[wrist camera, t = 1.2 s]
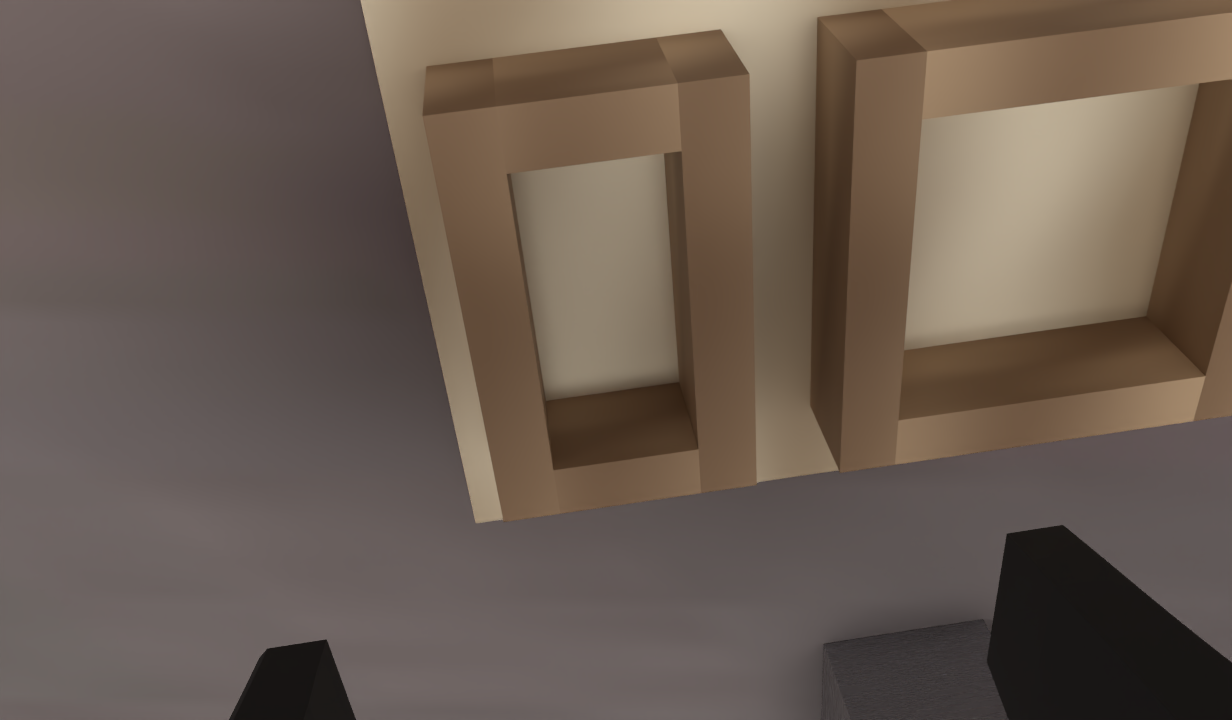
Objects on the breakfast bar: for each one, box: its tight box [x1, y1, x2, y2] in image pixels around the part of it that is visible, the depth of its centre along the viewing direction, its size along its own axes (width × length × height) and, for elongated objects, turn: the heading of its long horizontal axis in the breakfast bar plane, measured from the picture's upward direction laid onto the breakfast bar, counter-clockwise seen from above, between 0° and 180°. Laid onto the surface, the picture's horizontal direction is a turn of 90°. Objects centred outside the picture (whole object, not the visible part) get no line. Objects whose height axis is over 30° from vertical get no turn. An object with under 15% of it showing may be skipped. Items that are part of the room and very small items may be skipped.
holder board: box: [361, 0, 1232, 523], centre depth 18 cm, size 15×11×3 cm
